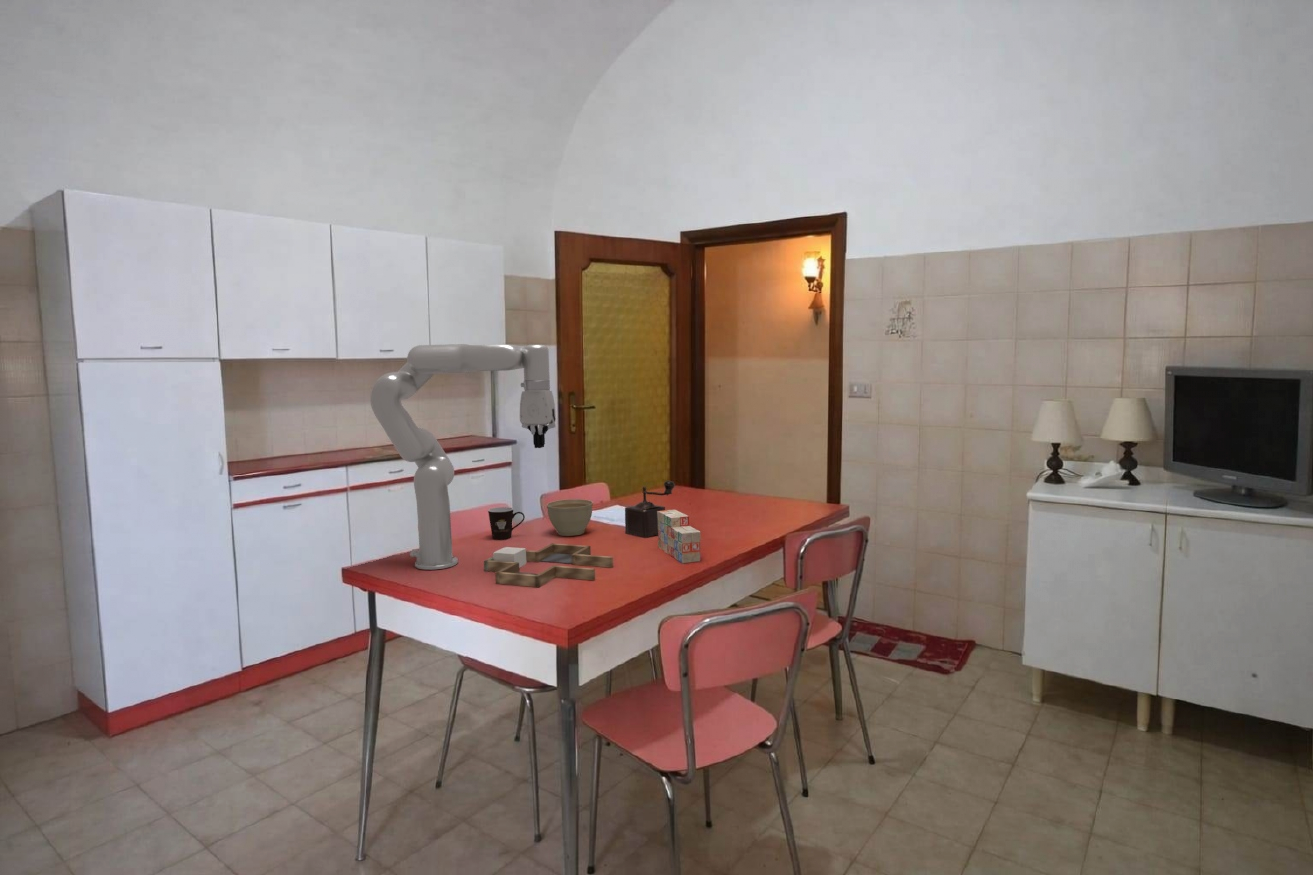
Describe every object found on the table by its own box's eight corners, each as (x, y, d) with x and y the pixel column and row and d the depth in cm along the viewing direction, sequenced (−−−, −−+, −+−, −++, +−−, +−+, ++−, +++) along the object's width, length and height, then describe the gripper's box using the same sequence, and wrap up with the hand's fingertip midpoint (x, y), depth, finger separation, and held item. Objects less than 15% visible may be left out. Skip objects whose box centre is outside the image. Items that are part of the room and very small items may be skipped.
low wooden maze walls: (465, 580, 218) (464, 570, 218) (524, 550, 250) (524, 541, 250) (578, 590, 207) (578, 579, 206) (625, 558, 239) (625, 548, 239)
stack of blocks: (701, 561, 234) (700, 521, 232) (681, 564, 231) (681, 523, 230) (675, 545, 254) (675, 508, 252) (657, 547, 252) (657, 510, 250)
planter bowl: (578, 526, 284) (577, 497, 283) (602, 533, 272) (601, 503, 270) (539, 532, 275) (538, 502, 274) (562, 541, 262) (561, 509, 261)
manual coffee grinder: (645, 538, 264) (644, 486, 262) (624, 533, 272) (623, 482, 270) (678, 530, 274) (677, 480, 272) (656, 526, 282) (655, 477, 280)
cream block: (493, 568, 230) (493, 552, 230) (506, 562, 237) (505, 546, 236) (514, 570, 228) (514, 554, 227) (526, 564, 234) (525, 548, 234)
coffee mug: (484, 540, 266) (483, 511, 264) (495, 534, 274) (494, 506, 273) (516, 541, 263) (515, 512, 262) (526, 535, 271) (525, 507, 270)
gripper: (508, 387, 230) (511, 448, 232) (553, 387, 225) (556, 449, 227) (521, 386, 237) (523, 445, 239) (565, 385, 232) (567, 446, 234)
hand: (539, 447), depth 233 cm, fingers closed
